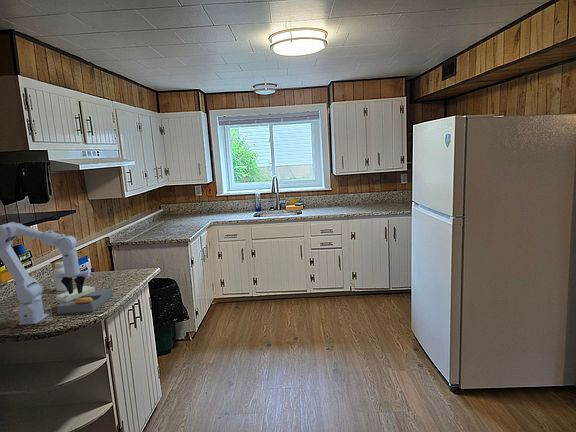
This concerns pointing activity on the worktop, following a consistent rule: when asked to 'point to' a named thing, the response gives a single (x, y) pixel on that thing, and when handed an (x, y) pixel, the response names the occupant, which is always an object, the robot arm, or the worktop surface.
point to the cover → (75, 294)
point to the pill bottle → (58, 282)
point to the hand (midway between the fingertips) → (75, 293)
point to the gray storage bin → (97, 300)
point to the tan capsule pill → (83, 300)
